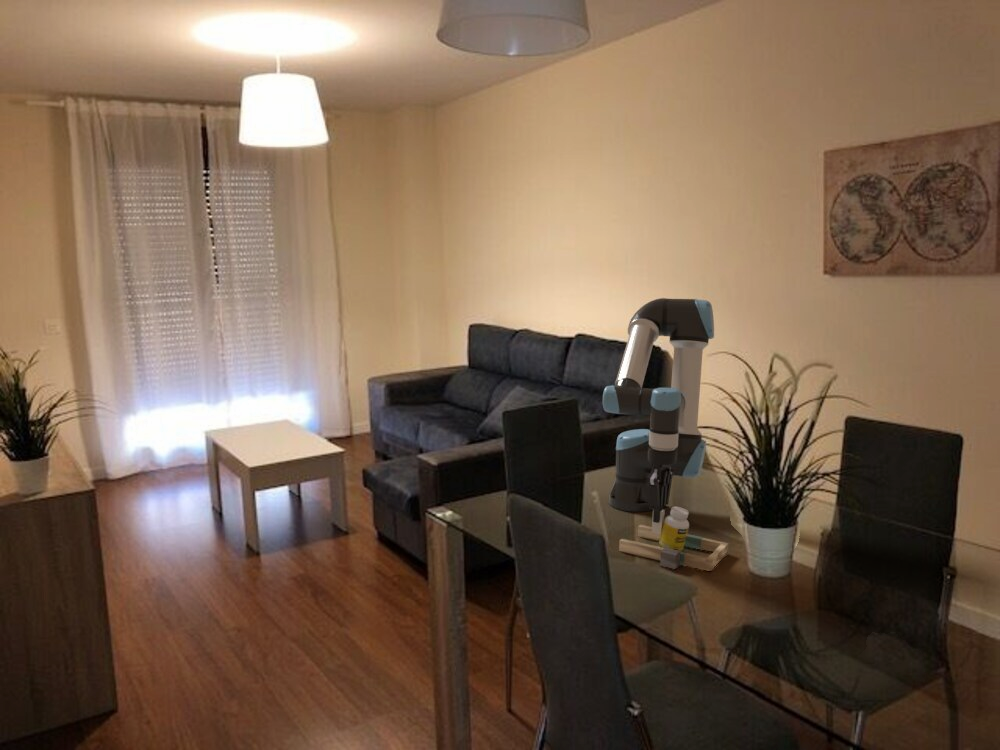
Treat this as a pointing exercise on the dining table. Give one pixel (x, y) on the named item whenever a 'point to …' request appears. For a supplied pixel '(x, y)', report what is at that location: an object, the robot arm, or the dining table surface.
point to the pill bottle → (675, 529)
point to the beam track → (674, 556)
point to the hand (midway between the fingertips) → (657, 532)
